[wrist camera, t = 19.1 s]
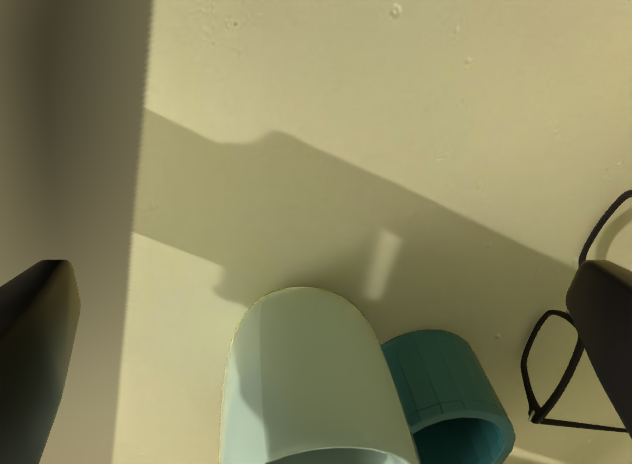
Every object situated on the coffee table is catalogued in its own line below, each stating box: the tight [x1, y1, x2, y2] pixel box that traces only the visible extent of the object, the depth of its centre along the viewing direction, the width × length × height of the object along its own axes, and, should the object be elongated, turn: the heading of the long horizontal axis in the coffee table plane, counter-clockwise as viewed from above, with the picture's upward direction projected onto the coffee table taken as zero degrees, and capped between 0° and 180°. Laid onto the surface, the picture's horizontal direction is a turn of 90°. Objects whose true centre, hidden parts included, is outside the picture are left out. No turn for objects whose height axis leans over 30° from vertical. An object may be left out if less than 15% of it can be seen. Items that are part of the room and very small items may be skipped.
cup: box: [218, 286, 421, 464], centre depth 23 cm, size 8×8×10 cm
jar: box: [381, 330, 515, 464], centre depth 28 cm, size 7×7×6 cm
